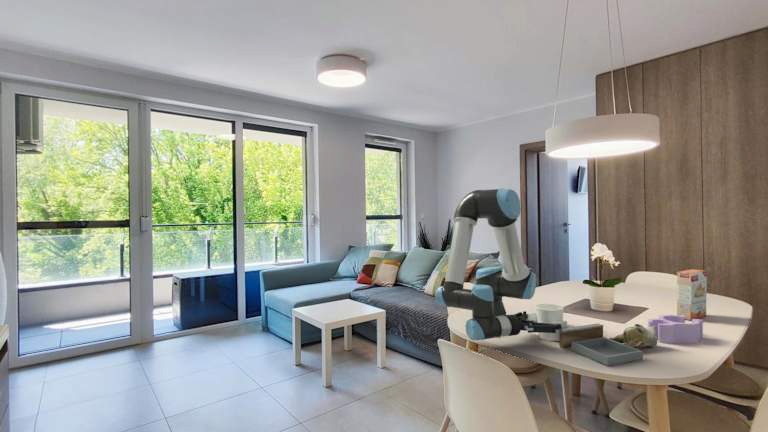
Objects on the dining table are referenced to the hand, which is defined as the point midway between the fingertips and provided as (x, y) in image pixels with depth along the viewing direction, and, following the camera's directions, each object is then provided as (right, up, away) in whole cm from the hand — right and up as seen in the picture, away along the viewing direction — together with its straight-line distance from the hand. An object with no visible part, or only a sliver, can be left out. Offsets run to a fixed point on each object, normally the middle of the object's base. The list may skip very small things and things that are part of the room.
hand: (553, 319), depth 150 cm
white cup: (-1, -7, 0) cm, 7 cm away
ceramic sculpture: (+25, -7, -12) cm, 28 cm away
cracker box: (+72, -5, +23) cm, 76 cm away
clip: (+45, -6, -3) cm, 45 cm away
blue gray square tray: (+10, -7, -19) cm, 22 cm away
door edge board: (+7, -7, -9) cm, 13 cm away
